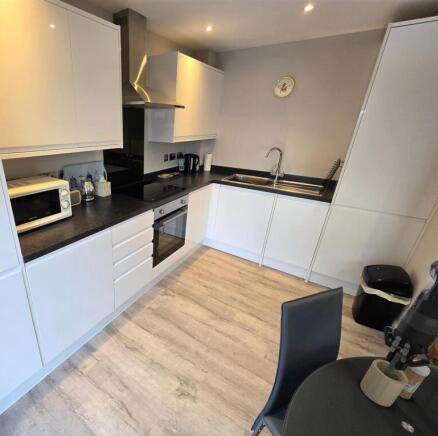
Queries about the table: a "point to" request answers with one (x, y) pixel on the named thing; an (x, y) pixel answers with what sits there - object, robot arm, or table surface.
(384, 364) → the jar
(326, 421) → the table surface
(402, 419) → the table surface
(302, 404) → the table surface
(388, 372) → the brush
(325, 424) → the table surface
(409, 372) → the sprinkles bottle
